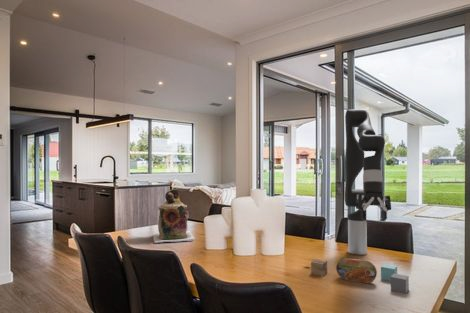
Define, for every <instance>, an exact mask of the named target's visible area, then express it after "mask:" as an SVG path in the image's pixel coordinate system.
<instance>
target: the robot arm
mask: <svg viewBox="0 0 470 313" xmlns="http://www.w3.org/2000/svg"><path fill="white" fill-rule="evenodd" d="M344 118H345V119H344V122H345V142H346V143H345V184H344V185H345V186H344V187H345V189H344V204H345V206H347V207H349V208H350V207H352V208H353V207H354V208H355V209H356V210H355V211H353V212H350V213H348V214H347V243H348V244H347V252H348V253H349V254H353V255H367V253H368V248H367V247H368V242H367V241H368V240H367V239H368V235H367V229H368V228H367V225H368V224H367V209H368V207H369V206H377V207H378V208H379V210H380V213H381V214H380V216H381V217H380V218H381V220H380V221H383V222H384V221H385V222H386V221H387V219H388V215H387V214H388V213H387V212H388V211H391V210H392V203H391V202H392V201H391V196H390V195H383V191H384V189H383V188H384V186H383V173H382V157H383V156H382V155H383V152H384V148H385V145H386V141H385V138H384V136H382V135H380V134H376V132H375V130H374V129H373V127H372V122H371V118H370V114H369V112H368V110H366V109H364V108H360V109H359V108H358V109H357V108H353V109H347V110H346V112H345V116H344ZM353 128H357V129H356V133H357V135H358V138H359V139H357V138H356V136H355V134H354V131H353ZM365 152H374V155H370V156H365ZM362 170H363V171H362ZM361 172H363V173H362V185H363V189H359V188H353V185H354V183H355V180H356V178H358V175H359V174H360V173H361ZM352 188H353V189H352Z"/></svg>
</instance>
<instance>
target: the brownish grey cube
mask: <svg viewBox="0 0 470 313" xmlns="http://www.w3.org/2000/svg"><path fill="white" fill-rule="evenodd" d="M310 272H311V273H310V274H311V275H314V276H320V277H323V276H325V275H327V274H328V261H326V260H321V259H320V260H319V259H314V260H312V261H311V262H310Z"/></svg>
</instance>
